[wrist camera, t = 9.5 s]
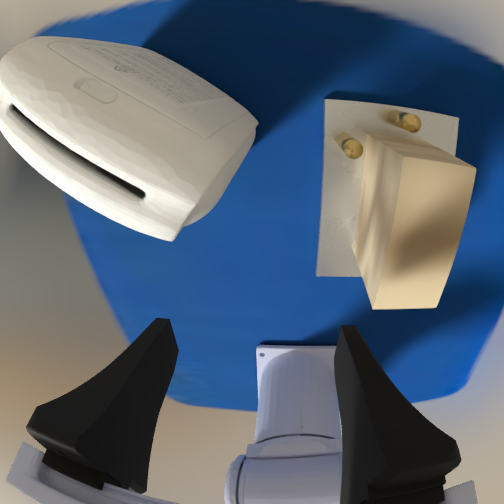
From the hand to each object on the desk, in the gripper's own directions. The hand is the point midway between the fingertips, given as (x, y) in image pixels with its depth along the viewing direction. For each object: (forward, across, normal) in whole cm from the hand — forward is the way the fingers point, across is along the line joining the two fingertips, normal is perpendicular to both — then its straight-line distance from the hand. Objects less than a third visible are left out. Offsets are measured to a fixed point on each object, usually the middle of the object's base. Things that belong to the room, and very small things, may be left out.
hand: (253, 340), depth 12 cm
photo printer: (+10, +5, -9) cm, 14 cm away
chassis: (+10, -8, -3) cm, 13 cm away
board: (+9, -8, -3) cm, 13 cm away
